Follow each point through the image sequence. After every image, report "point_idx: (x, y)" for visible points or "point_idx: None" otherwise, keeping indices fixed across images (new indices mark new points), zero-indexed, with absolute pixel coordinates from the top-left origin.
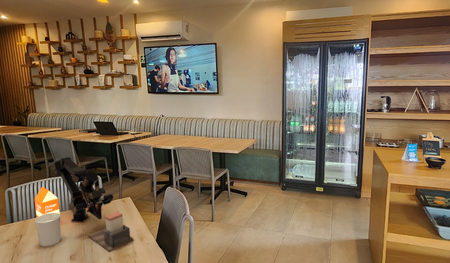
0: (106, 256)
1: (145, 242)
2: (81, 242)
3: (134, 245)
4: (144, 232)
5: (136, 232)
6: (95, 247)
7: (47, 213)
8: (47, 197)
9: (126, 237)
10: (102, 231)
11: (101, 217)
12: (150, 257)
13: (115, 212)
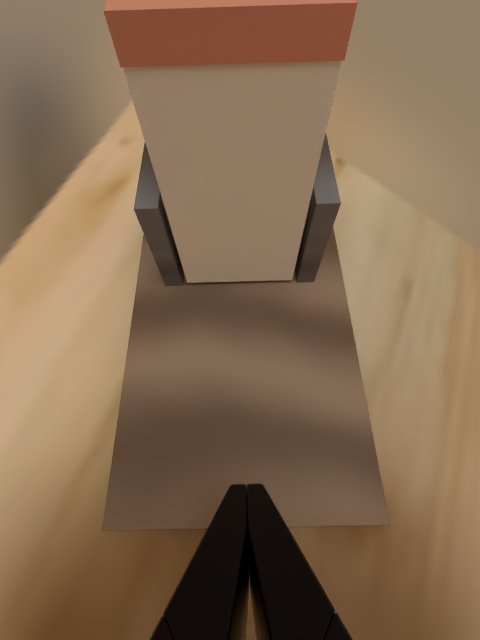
0: (352, 182)
1: (128, 153)
2: (460, 472)
3: None
4: (40, 233)
5: (67, 270)
6: (376, 305)
7: None
8: None
9: None
10: (243, 477)
11: (231, 490)
12: None
13: (154, 4)
